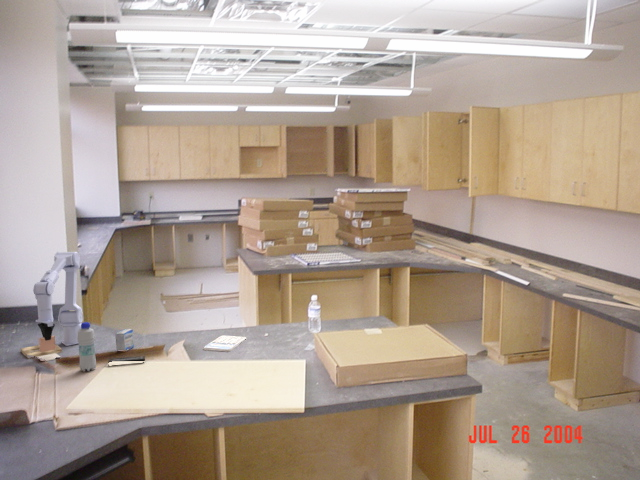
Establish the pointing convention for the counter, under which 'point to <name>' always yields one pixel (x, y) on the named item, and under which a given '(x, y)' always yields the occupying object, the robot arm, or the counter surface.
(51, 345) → the peach cuboid
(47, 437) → the counter surface
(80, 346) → the bottle
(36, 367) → the counter surface
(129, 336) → the medicine box
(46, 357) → the pad
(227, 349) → the white book
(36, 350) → the gold flat square frame
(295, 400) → the counter surface
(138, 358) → the multiport hub
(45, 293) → the robot arm
